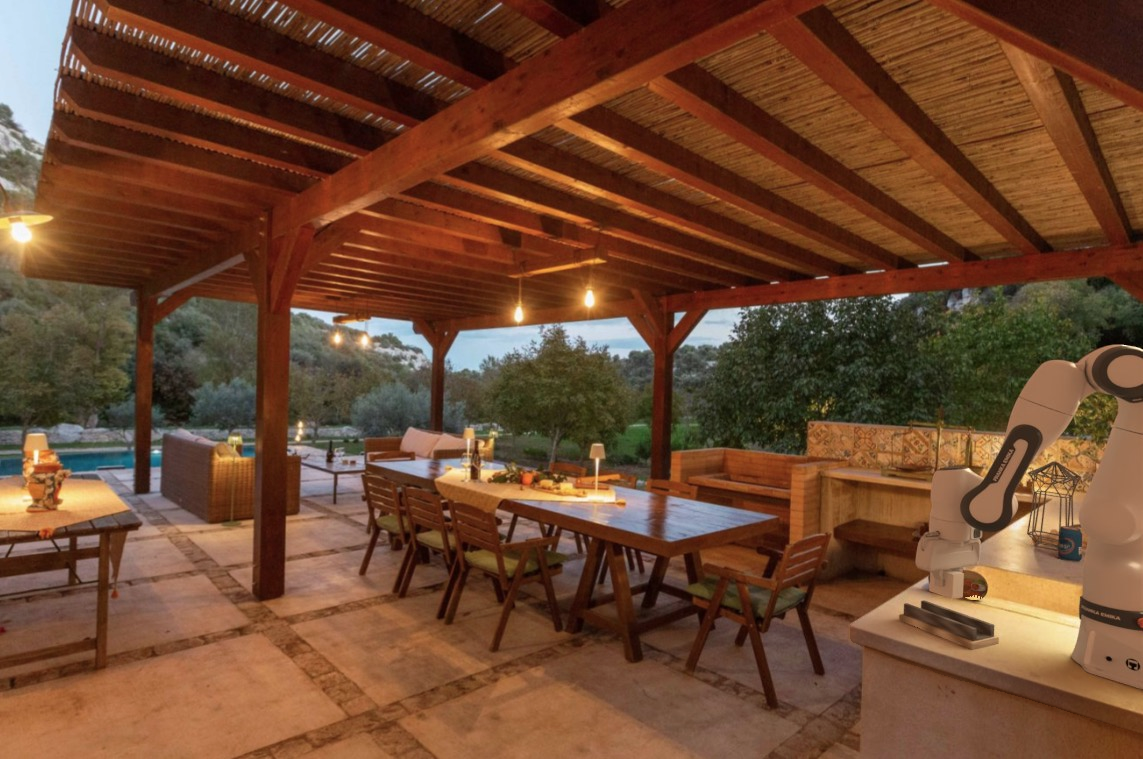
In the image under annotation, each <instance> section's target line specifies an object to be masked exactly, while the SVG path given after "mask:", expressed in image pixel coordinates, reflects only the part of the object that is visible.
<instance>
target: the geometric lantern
mask: <svg viewBox="0 0 1143 759" xmlns="http://www.w3.org/2000/svg"><path fill="white" fill-rule="evenodd" d="M1051 468H1052V469H1051ZM1057 468H1058V470H1059V472H1060V473H1061V475H1060V474H1058V471H1057ZM1050 469H1051V473H1048V472H1049V471H1050ZM1039 473H1040V474H1039ZM1027 474H1028V475H1029V477H1030V478H1031V482H1032V493H1033V495H1032V501H1031V507H1030V508H1031V509H1030V514H1029V517H1028V518H1029V519H1028V525H1027V530H1026V531H1027V532H1026V533H1027V534H1026V535H1028V536H1029V537H1030V538H1031V539H1032V540H1033V541H1034V542H1035V543H1034V547H1036V548H1041V549H1046V550H1052V551H1057V552H1058V544H1055V543H1058V539H1056V538H1051V537H1049V536H1047V537H1046V536H1042V534H1047V535H1053V536H1056V537H1059V533H1053V532H1047V531H1043V526H1044V519H1045V518H1044V516H1045V508H1046V498H1047V496H1049V497H1055V498H1059V517H1058V519H1059V522H1058V531H1059V530H1060V528H1061V526H1062V504H1063V499H1064V500H1065V510H1064V511H1065V512H1064V513H1065V526H1068V527H1070V517H1071V527H1074V497H1073V496H1074V494H1075V490H1076V488H1077V485H1078V484H1079V482H1080V481H1081V479H1082V478H1083V477H1082V476H1081V475H1078V474H1077V473H1076V472H1074V471H1072V470H1070V469H1069V468H1067V467H1066V466H1064V465H1063V464H1061V463H1060V462H1059V461H1050V462H1049V463H1047V464H1045V465H1043V466H1040V467H1037V468H1036V469H1033V470H1030V471H1029V472H1027ZM1049 475H1050V476H1049ZM1038 476H1039V477H1038ZM1040 477H1041V478H1042V479H1041V478H1040ZM1044 478H1046V479H1050V482H1045V479H1044ZM1057 480H1058V481H1057ZM1038 481H1039V482H1040V483H1042V485H1041V486H1040V485H1039V483H1038ZM1070 481H1071V482H1072V486H1070V487H1069V489H1067V486H1066V485H1065V484H1067V483H1069V482H1070ZM1035 482H1036V484H1037V486H1038V489H1037V490H1035ZM1056 484H1063V487H1064V488H1065V490H1066V491H1067V492H1066V493H1060V492H1059V490H1058V488H1057V487H1056V486H1055V485H1056ZM1044 485H1049V486H1047V488H1046V489H1045V490H1042V487H1043V486H1044ZM1052 486H1053V488H1054V490H1055V491H1056V492H1052V491H1048V490H1049V489H1050V488H1051V487H1052ZM1072 489H1073V490H1072ZM1071 490H1072V492H1071V494H1070V491H1071ZM1047 493H1049V494H1047ZM1053 494H1055V495H1053ZM1038 495H1039V496H1038ZM1042 496H1043V497H1044V498H1043V505H1042V515H1041V523H1040V530H1036V529H1037V524H1038V516H1039V511H1040V504H1041V497H1042ZM1037 497H1038V498H1037ZM1037 499H1038V501H1037ZM1036 506H1037V507H1036ZM1036 508H1037V509H1036ZM1070 514H1071V515H1070ZM1032 515H1033V516H1032ZM1031 520H1032V521H1031ZM1031 523H1032V526H1031ZM1030 527H1032V529H1031V531H1030ZM1037 533H1039V534H1037ZM1036 537H1037V538H1036ZM1045 541H1049V542H1045ZM1050 542H1052V543H1050ZM1053 542H1054V544H1053ZM1039 545H1044V546H1039ZM1045 545H1046V546H1051V547H1056V548H1051V547H1045Z"/></svg>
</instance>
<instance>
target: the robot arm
mask: <svg viewBox="0 0 1143 759" xmlns="http://www.w3.org/2000/svg"><path fill="white" fill-rule="evenodd" d="M1095 393H1101V394H1105V395H1109V396H1110V395H1111V396H1114V398H1115V399H1116V401H1117V408H1118V409H1117V414H1116V417H1115V419H1114V423H1113V424H1112V429H1111V431H1110V433H1109V436H1108V439H1107V443H1106V445H1105V449H1104V451H1103V453H1102V457H1101V460H1100V462H1099V464H1098V467H1097V469H1096V471H1095V472H1094V475H1093V476H1092V479H1091V481H1090V484H1089V486H1088V488H1087V491H1086V493H1085V496H1084V497H1083V501H1082V502H1081V505H1080V508H1079V511H1078V522H1079V526H1080V527H1081V530H1082V531H1083V532H1084V533H1085V534H1086V535H1087V541H1086V542H1087V543H1086V548H1085V553H1084V558H1083V562H1082V563H1083V564H1082V565H1083V566H1082V568H1083V569H1082V589H1081V590H1082V593H1081V594H1082V595H1081V596H1079V602H1078V603H1079V604H1078V617H1079V620H1080V624H1079V630H1078V634H1077V638H1076V642H1075V645H1074V648H1073V650H1072V653H1071V655H1070V656H1071V658H1072V660H1073V661H1074V662H1076V663H1077V664H1078V665H1080V666H1081V667H1082V669H1083V671H1085V672H1087V673H1088V674H1092V675H1095V676H1098V677H1101V678H1105V679H1108V680H1111V681H1114V682H1116V683H1117V682H1118V683H1121V684H1124V685H1127V686H1129V687H1133V688H1137V689H1140V690H1143V349H1142V348H1140V347H1136V346H1134V345H1133V346H1131V345H1124V344H1111V345H1104V346H1102V347H1100V346H1099V347H1098V348H1095V349H1093V350H1090V351H1088V352H1087V353H1085V354H1084V355H1082V356H1081V357H1080V358H1077V359H1076V360H1074V361H1072V362H1071V361H1068V360H1063V359H1052V360H1047V361H1045V362H1043V363H1041V364H1040V365H1039V366H1038V368H1036V370H1035V371H1034V373H1033V374H1032V375H1031V376H1030V378H1029V379H1028V381H1027V382H1026V383H1025V385H1024V386H1023V388H1022V390H1021V391H1020V394H1019V395H1018V397H1017V399H1016V401H1015V404H1014V406H1013V408H1012V411H1011V414H1010V416H1009V419H1008V424H1007V427H1006V431H1005V435H1004V439H1003V441H1002V445H1001V448H1000V449H999V451H998V453H997V455H996V457H995V459H994V460H993V462H992V465H991V466H990V468H989V469H988V471H987V473H986V475H985V476H984V477H982V476H980V475H979V474H977V473H975V472H974V471H973V470H971V468H969V467H968V466H962V465H961V466H959V465H957V466H956V465H954V466H953V465H952V466H945V467H941V468H938V469H937V470H936V471H935V472H934V473H933V476H932V480H931V485H930V486H931V487H930V502H931V509H930V512H929V523H928V524H929V525H928V531H926V532H925V533H923V535H922V536H921V537H920V539H919V541H918V544H917V547H916V548H917V549H916V554H915V566H916V567H917V568H918V569H919V570H923V571H926V572H930V571H932V574H933V576H934V578H935V585H936V586H938V587H943V586H945V580H944V579H943V577H942V574H943V570H944V569H953V570H955V571H958V572H963V569H964V568H965V567H971V566H972V567H974V566H977V565H978V564H979V562H980V558H981V551H982V549H981V548H982V542H981V540H980V539H982V538H983V532H984V533H997V532H1000V531H1002V530H1004V529H1005V528H1006V527H1007V526H1009V524H1010V522H1011V520H1012V518H1014V516H1015V515H1016V513H1017V512H1018V509H1019V500H1018V498H1017V496H1016V494H1015V493H1016V490H1017V489H1018V487H1019V485H1020V484H1021V482H1022V480H1023V478H1024V476H1025V475H1026V473H1027V471H1028V470H1029V467H1030V466H1031V465H1032V464H1033V462H1034V460H1035V459H1036V458H1037V457H1038V456H1039V455H1040V454H1041V453H1042V452H1044V451H1045V450H1046V449H1047V448H1049V447H1050V446H1051V445H1053V444H1054V443H1055V441H1057V440H1058V439H1059V437H1060V436H1061V435H1062V434H1063V433H1064V432H1065V430H1066V429H1067V427H1068V426H1069V425H1070V423H1071V422H1072V420H1073V418H1074V416H1075V415H1076V412H1077V410H1078V408H1079V406H1080V405H1081V404H1082V403H1083V402H1084V400H1085V399H1086V398H1087V397H1088V396H1090V395H1093V394H1095Z"/></svg>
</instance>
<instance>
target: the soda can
mask: <svg viewBox="0 0 1143 759" xmlns="http://www.w3.org/2000/svg"><path fill="white" fill-rule="evenodd" d="M1058 534H1059V536H1058V539H1057V540H1058V542H1057V545H1058V551H1057V555H1058V557H1059V559H1060V560H1063V561H1066V562H1072V563H1079V562H1080V561H1081V560H1082V558H1083V532H1082V531H1081V528H1078V527H1075V526H1073V527H1072V526H1069V527H1068V525H1067V526H1066V525H1065V526H1064V525H1063V526H1062V525H1061V528H1060V530H1059V529H1058Z"/></svg>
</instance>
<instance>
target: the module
mask: <svg viewBox="0 0 1143 759" xmlns="http://www.w3.org/2000/svg"><path fill="white" fill-rule="evenodd" d="M929 573H930V584H929V588H928V589H929V590H928V591H929V592H931V593H934V594H936V595H939V596H943V597H945V598H948V599H951V600H954V599H962V597H963V582H964V573H962V572H958V571H955V570H952V569H944V570H943V574H942V577H943V579H944V580H945V586H943V587H938V586H936V585H935V578H934V576H933V574H932V571H929Z"/></svg>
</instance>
